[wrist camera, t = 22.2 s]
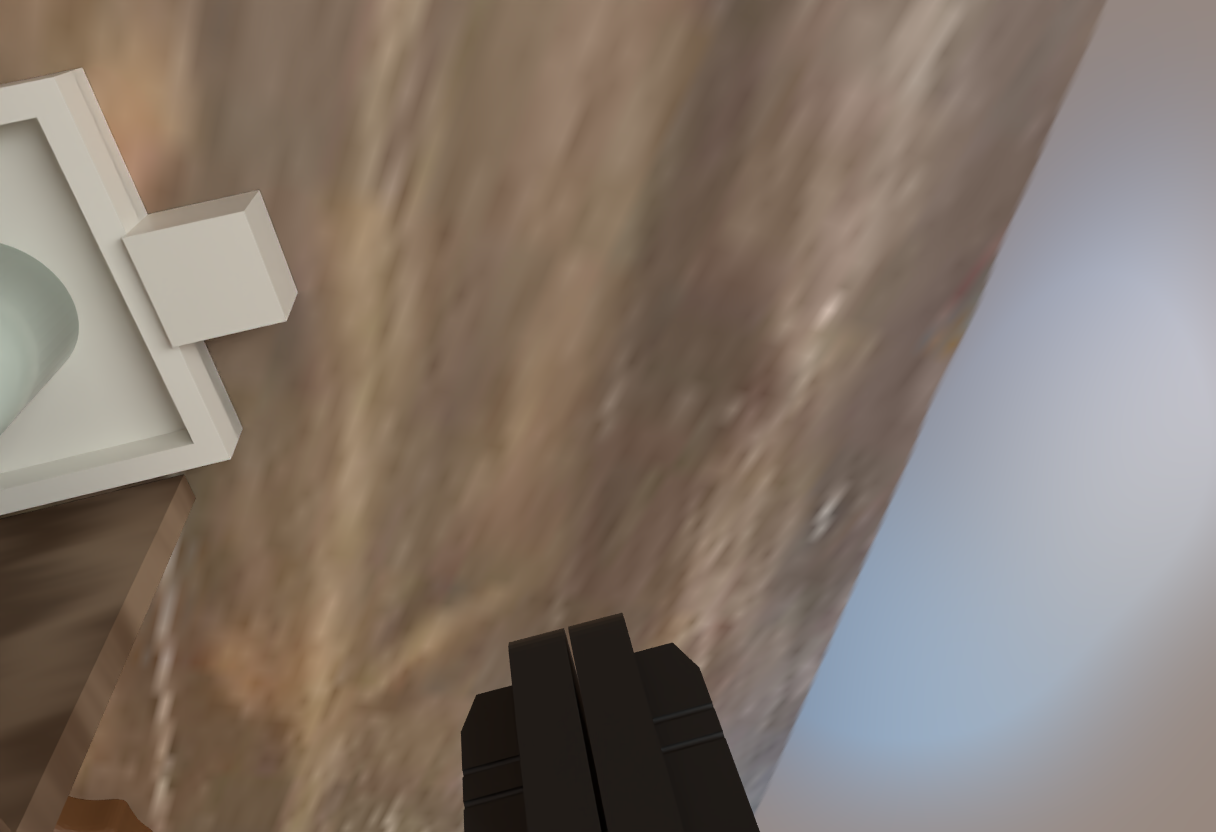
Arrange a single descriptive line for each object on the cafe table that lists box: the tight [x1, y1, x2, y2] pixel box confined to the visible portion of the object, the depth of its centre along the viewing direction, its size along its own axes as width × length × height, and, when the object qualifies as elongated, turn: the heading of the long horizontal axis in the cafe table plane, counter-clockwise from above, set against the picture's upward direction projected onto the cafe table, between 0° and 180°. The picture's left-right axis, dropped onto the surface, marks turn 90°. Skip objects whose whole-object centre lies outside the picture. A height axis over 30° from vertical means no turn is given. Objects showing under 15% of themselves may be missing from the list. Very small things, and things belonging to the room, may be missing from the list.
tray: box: [0, 68, 298, 515], centre depth 31 cm, size 16×14×3 cm
